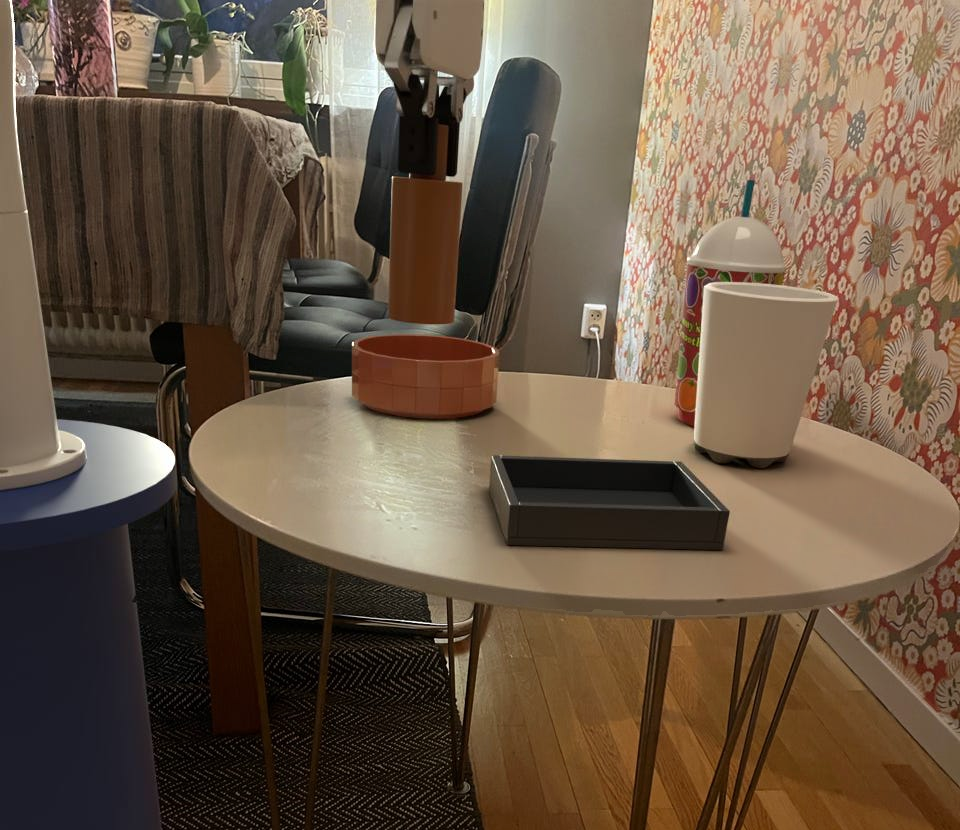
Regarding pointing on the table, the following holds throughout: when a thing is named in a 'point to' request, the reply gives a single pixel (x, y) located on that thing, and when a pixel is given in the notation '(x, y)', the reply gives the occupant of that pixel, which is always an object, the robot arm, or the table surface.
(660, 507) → the tray
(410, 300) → the bottle
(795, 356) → the cup
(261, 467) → the table surface
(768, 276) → the smoothie
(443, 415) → the bowl
